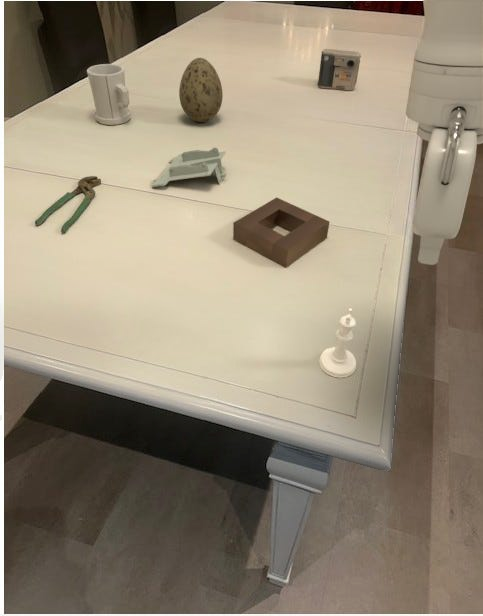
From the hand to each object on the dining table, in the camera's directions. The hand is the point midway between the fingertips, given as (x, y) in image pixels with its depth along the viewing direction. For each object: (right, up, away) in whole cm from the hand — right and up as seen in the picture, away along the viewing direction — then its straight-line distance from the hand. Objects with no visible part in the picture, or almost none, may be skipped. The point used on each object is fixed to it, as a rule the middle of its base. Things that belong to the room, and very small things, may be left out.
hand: (431, 239), depth 50 cm
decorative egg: (-30, +41, +75) cm, 91 cm away
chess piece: (-7, -15, +15) cm, 22 cm away
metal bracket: (-30, +21, +53) cm, 64 cm away
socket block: (-13, +5, +37) cm, 39 cm away
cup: (-52, +41, +75) cm, 100 cm away
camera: (+9, +60, +96) cm, 113 cm away
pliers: (-52, +13, +44) cm, 69 cm away
